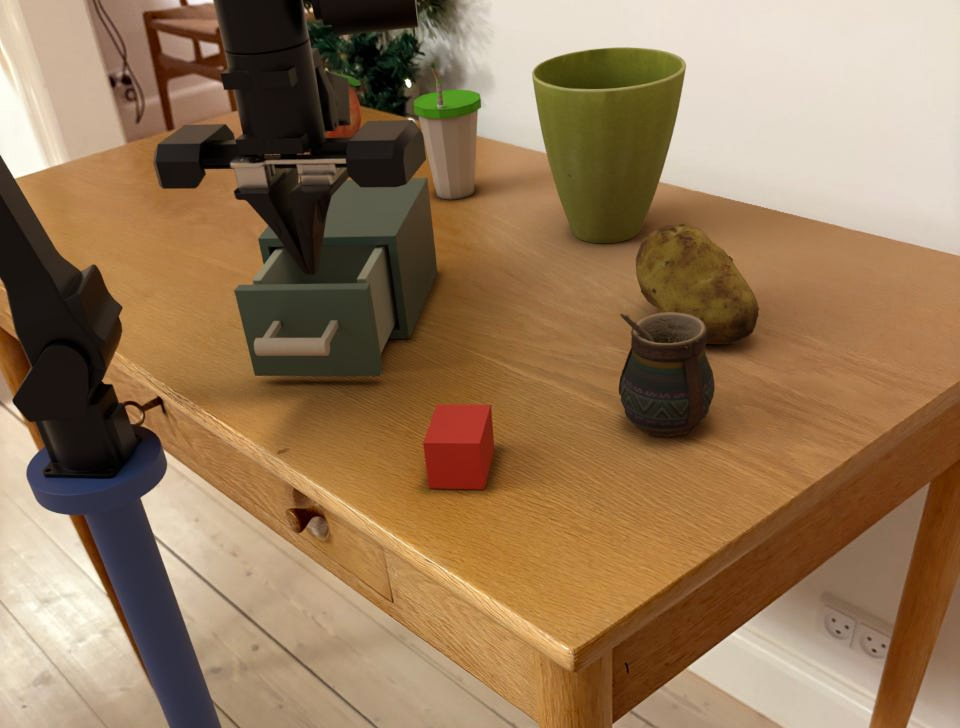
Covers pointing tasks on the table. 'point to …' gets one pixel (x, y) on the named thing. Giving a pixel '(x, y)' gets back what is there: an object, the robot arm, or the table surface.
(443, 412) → the red block
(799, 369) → the table surface
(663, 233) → the potato
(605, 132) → the flower pot
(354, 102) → the fruit
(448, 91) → the cup
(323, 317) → the drawer
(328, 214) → the cabinet
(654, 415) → the mate gourd
